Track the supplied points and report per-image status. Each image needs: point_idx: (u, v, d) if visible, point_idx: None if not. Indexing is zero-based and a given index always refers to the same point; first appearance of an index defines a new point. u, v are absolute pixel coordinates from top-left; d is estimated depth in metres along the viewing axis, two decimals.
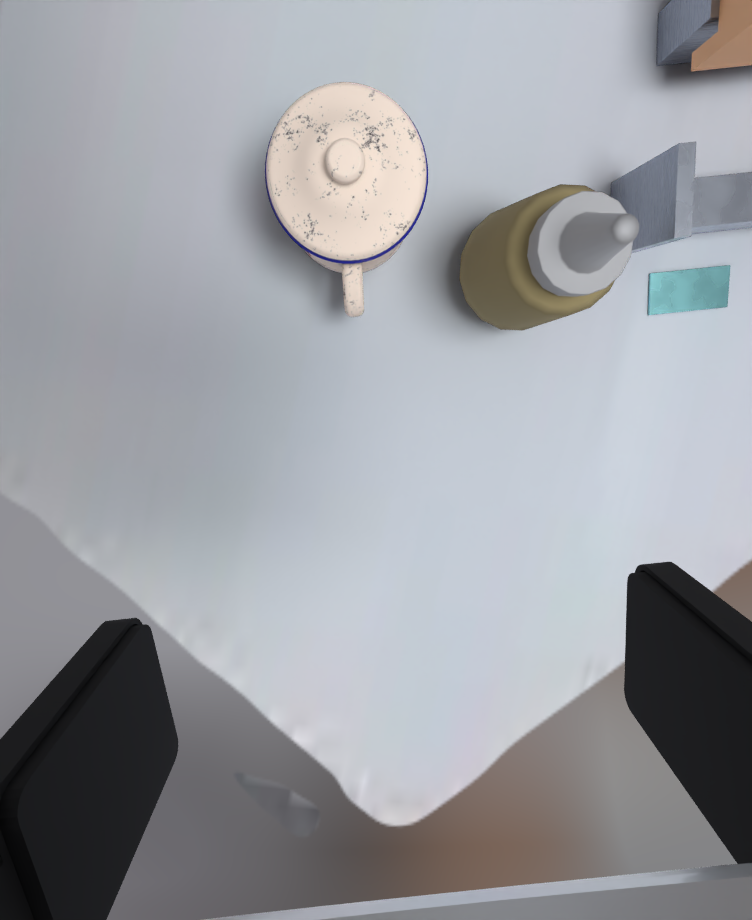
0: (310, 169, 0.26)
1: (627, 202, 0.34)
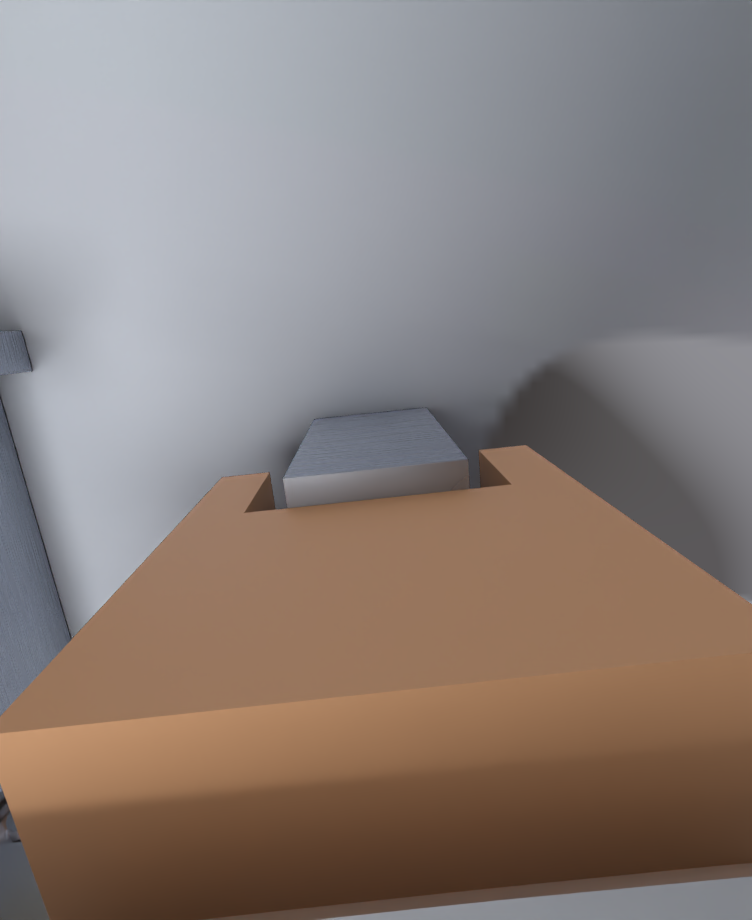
0: None
1: None
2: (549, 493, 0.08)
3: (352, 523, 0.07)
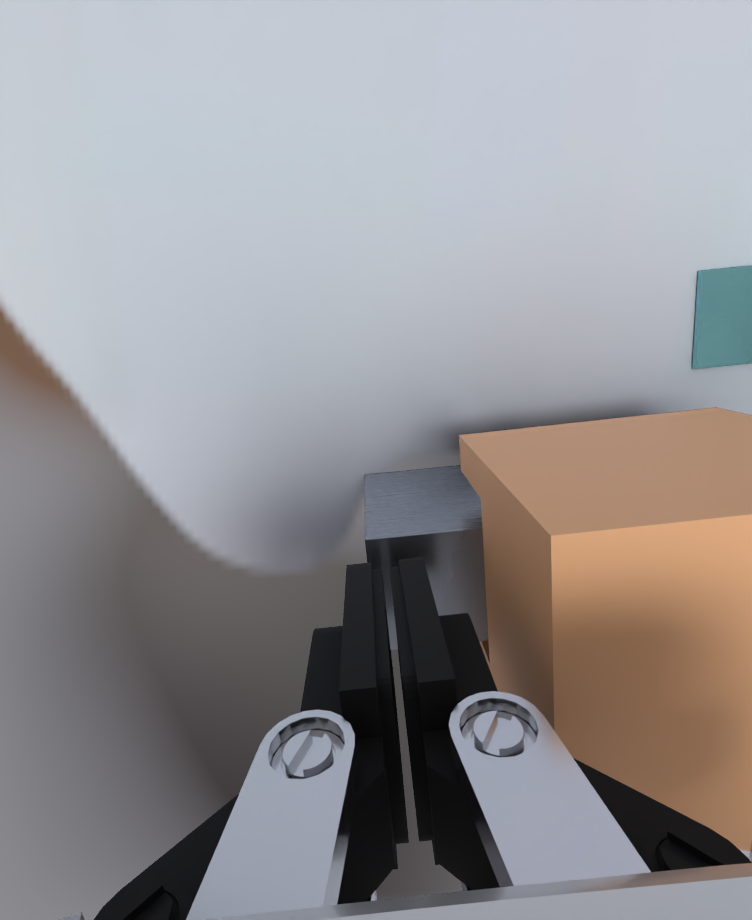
0: None
1: None
2: None
3: None
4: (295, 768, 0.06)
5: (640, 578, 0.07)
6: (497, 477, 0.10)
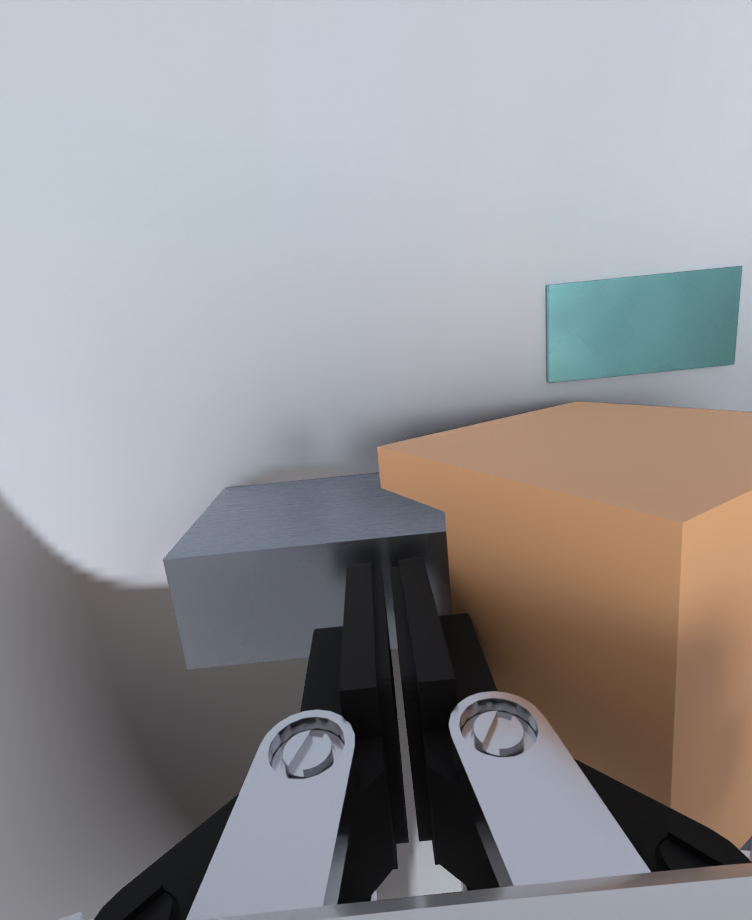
0: None
1: None
2: None
3: None
4: (295, 768, 0.06)
5: (733, 554, 0.07)
6: (502, 477, 0.08)
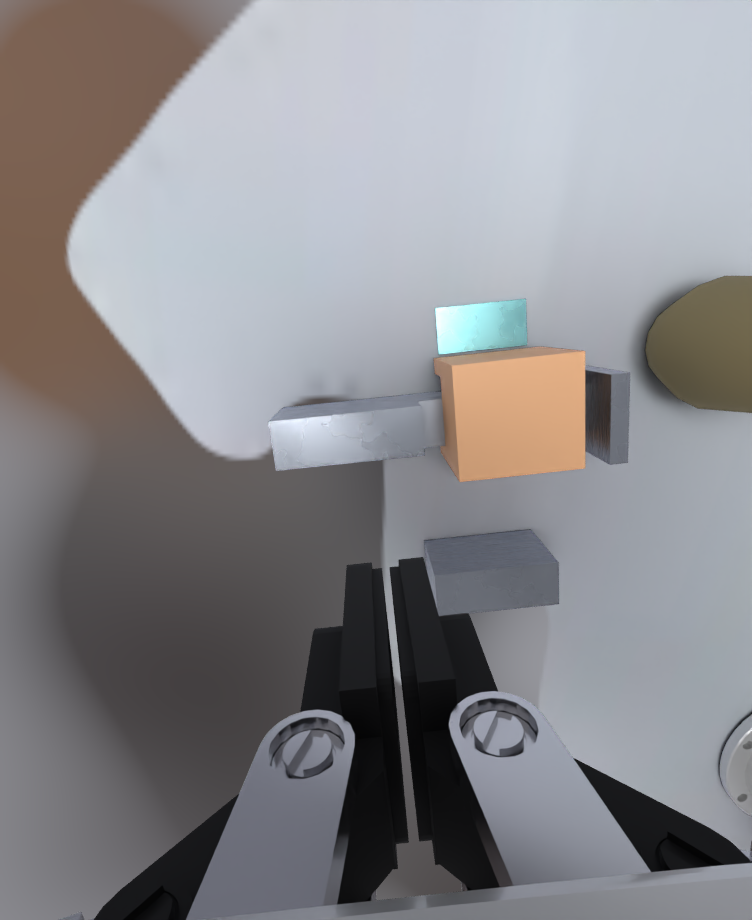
0: None
1: None
2: None
3: None
4: (295, 768, 0.06)
5: (476, 378, 0.27)
6: (443, 362, 0.29)
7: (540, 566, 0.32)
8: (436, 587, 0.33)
